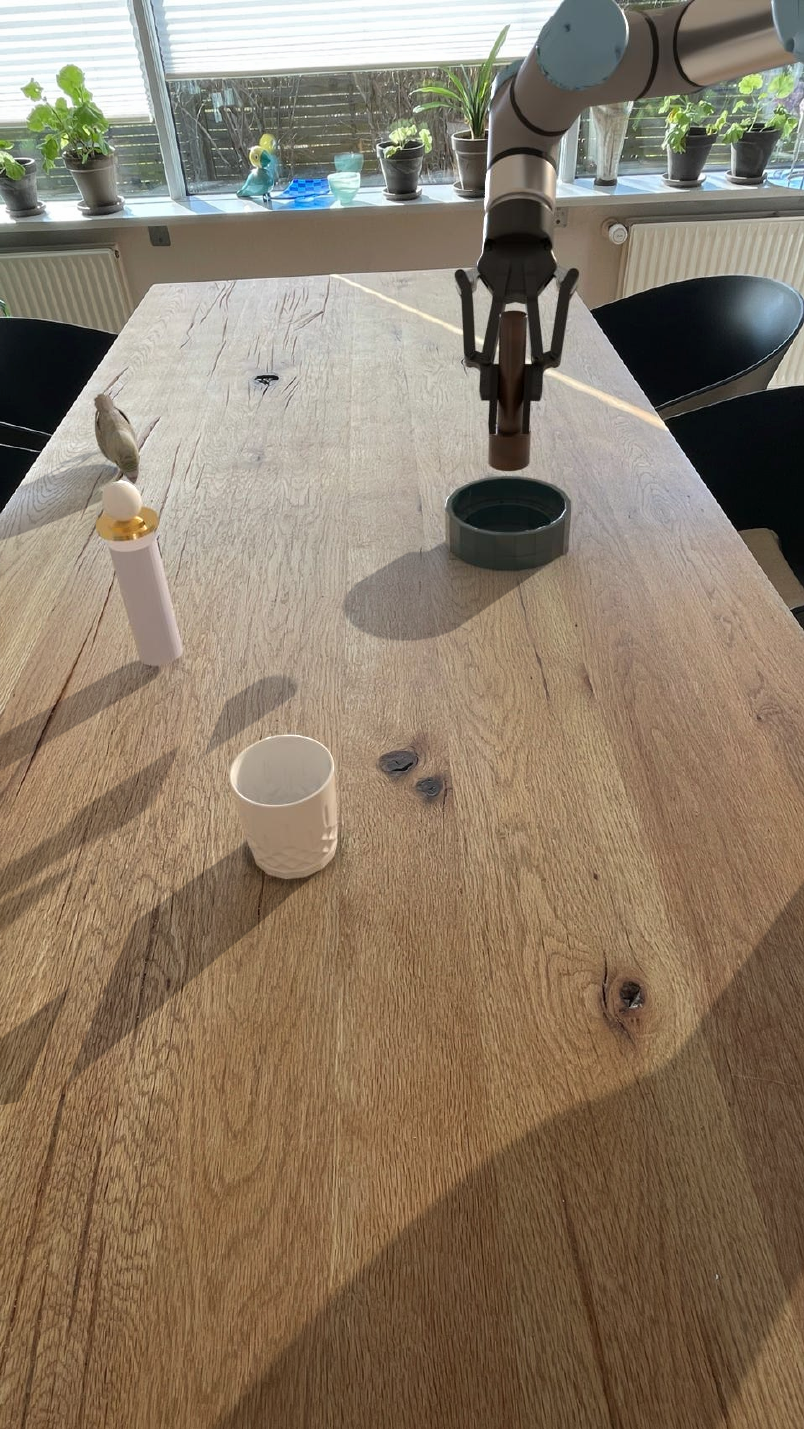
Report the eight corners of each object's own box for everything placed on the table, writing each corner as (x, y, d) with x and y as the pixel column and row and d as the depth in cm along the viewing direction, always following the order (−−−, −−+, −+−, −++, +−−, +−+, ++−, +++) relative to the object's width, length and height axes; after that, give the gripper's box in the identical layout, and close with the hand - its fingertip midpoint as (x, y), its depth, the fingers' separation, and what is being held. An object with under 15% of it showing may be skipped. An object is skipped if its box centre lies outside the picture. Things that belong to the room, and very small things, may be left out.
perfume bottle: (190, 670, 98) (148, 493, 85) (133, 678, 97) (82, 501, 84) (190, 639, 102) (149, 465, 89) (135, 646, 101) (87, 473, 89)
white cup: (305, 911, 73) (290, 821, 67) (228, 871, 77) (206, 782, 70) (364, 845, 78) (354, 756, 72) (289, 810, 82) (273, 722, 75)
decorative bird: (115, 489, 130) (101, 437, 126) (94, 446, 142) (81, 397, 137) (154, 480, 132) (142, 429, 127) (130, 438, 144) (118, 390, 139)
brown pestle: (530, 453, 108) (536, 307, 97) (529, 472, 104) (535, 322, 94) (489, 453, 108) (491, 307, 98) (487, 471, 105) (489, 322, 95)
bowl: (567, 521, 118) (570, 476, 114) (568, 583, 107) (571, 536, 103) (451, 519, 120) (451, 475, 116) (441, 580, 109) (440, 533, 105)
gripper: (592, 235, 104) (583, 443, 102) (448, 237, 106) (436, 441, 104) (597, 192, 97) (588, 416, 95) (442, 195, 99) (430, 414, 97)
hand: (508, 429), depth 100 cm, fingers closed on brown pestle, 3 cm apart
